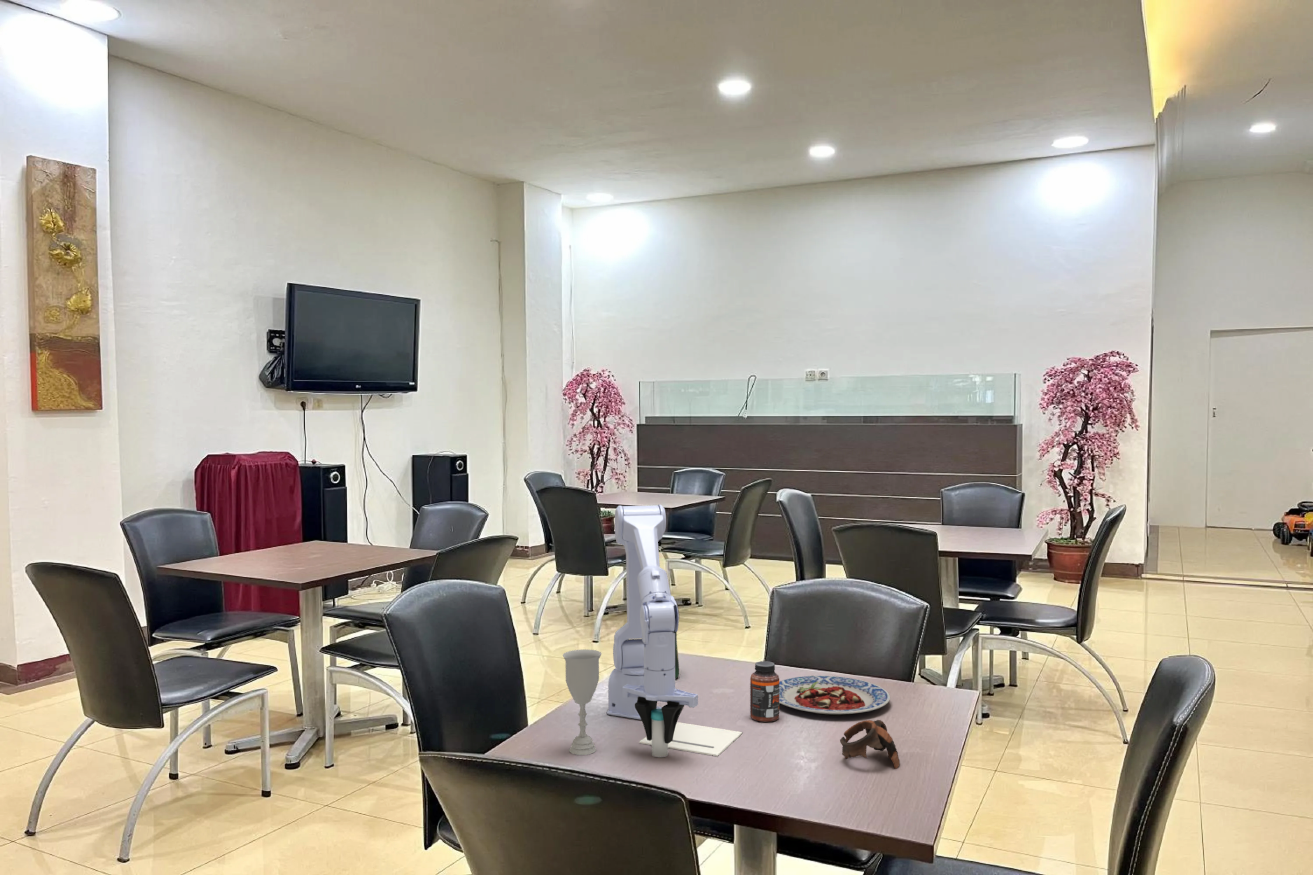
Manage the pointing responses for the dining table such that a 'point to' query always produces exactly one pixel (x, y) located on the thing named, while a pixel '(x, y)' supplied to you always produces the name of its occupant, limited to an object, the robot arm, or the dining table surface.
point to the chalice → (582, 691)
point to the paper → (700, 739)
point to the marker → (658, 734)
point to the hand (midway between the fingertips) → (659, 740)
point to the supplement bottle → (764, 692)
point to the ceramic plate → (831, 695)
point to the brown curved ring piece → (869, 740)
